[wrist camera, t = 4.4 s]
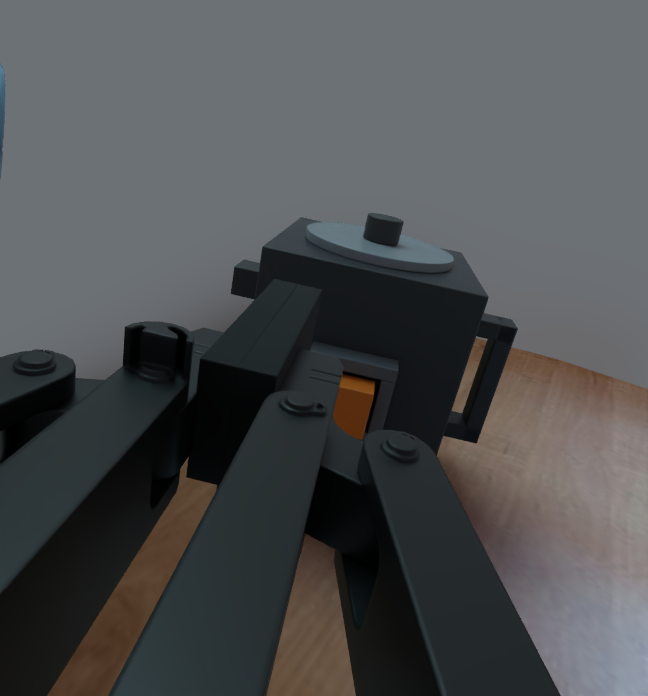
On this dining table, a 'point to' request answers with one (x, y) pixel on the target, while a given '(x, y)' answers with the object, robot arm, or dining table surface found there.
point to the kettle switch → (353, 405)
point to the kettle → (393, 320)
